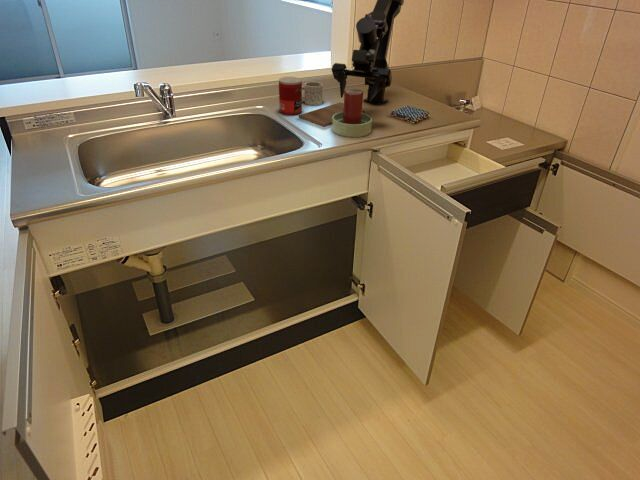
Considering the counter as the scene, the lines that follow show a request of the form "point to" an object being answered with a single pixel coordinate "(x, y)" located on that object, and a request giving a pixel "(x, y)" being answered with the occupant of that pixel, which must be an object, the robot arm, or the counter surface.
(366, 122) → the bowl
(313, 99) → the mug
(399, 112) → the woven mat
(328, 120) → the cutting board
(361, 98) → the drink can
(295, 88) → the canned food
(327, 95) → the counter surface
